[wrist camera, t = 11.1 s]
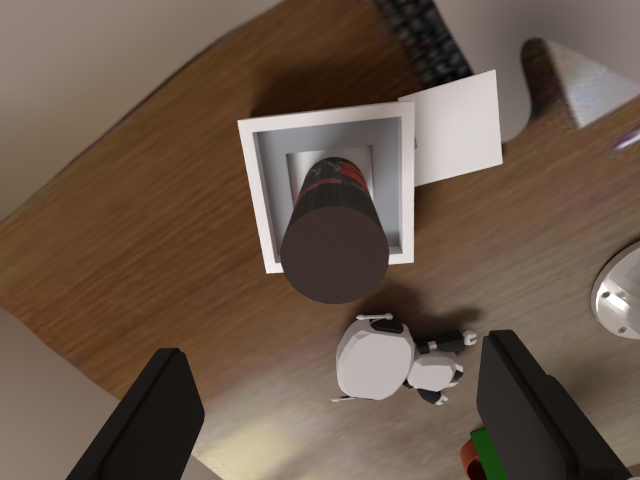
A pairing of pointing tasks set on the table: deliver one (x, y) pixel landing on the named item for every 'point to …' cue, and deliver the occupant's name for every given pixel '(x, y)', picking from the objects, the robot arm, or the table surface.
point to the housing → (323, 142)
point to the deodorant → (334, 236)
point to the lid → (456, 128)
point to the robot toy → (397, 360)
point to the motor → (482, 458)
